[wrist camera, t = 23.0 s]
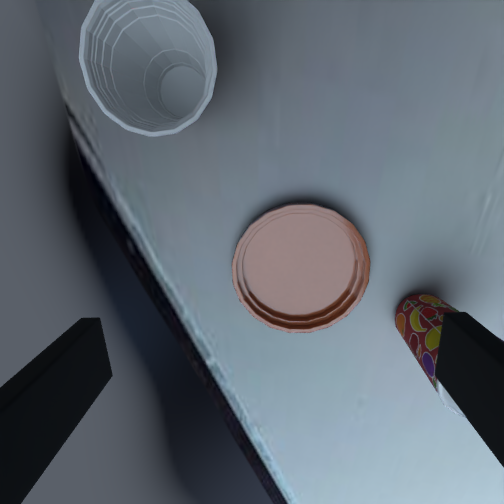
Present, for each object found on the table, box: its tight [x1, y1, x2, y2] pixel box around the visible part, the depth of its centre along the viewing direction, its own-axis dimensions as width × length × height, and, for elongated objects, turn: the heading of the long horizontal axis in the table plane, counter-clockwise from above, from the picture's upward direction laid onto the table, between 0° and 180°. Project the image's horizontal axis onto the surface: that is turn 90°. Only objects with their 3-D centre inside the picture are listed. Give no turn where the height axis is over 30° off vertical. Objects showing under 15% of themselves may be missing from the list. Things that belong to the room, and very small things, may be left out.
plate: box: [232, 202, 370, 333], centre depth 40 cm, size 17×17×2 cm
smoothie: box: [395, 294, 504, 418], centre depth 32 cm, size 8×8×20 cm
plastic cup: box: [79, 0, 218, 137], centre depth 30 cm, size 11×11×12 cm
